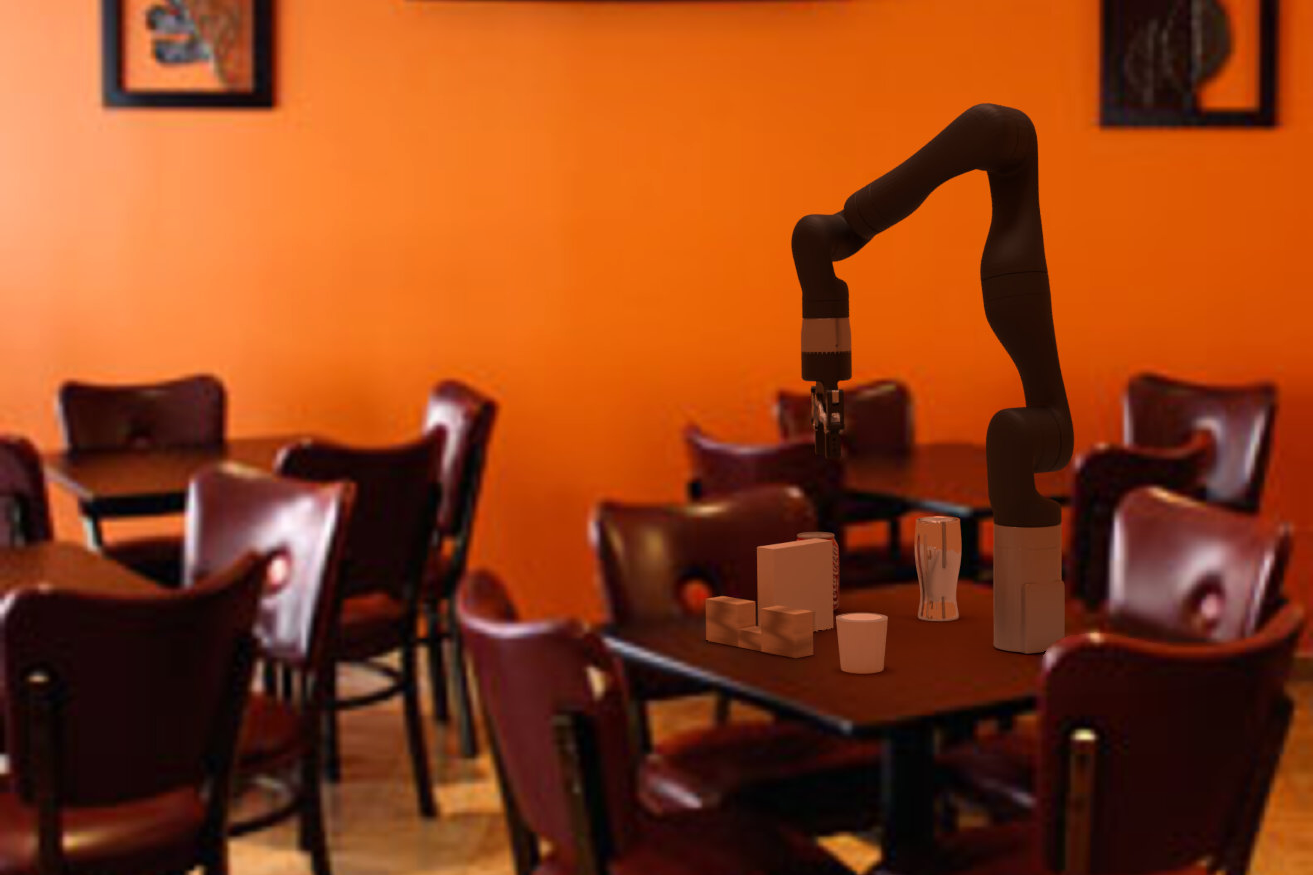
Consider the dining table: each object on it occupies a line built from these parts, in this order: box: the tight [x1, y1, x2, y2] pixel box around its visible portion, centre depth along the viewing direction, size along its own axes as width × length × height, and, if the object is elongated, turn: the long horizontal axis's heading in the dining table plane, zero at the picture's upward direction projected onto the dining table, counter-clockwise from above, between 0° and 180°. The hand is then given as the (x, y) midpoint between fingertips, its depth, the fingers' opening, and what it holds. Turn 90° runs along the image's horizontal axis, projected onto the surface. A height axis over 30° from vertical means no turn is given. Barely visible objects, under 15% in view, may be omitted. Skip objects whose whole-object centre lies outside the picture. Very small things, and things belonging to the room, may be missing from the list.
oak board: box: [705, 595, 814, 659], centre depth 266 cm, size 18×3×6 cm, turn 41°
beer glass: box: [914, 515, 963, 622], centre depth 285 cm, size 7×7×15 cm
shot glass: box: [835, 612, 889, 674], centre depth 250 cm, size 7×7×7 cm
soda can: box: [795, 531, 840, 612], centre depth 293 cm, size 7×7×12 cm
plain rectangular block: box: [756, 538, 834, 632], centre depth 276 cm, size 3×12×13 cm, turn 131°
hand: (827, 456), depth 285 cm, fingers open, 8 cm apart
